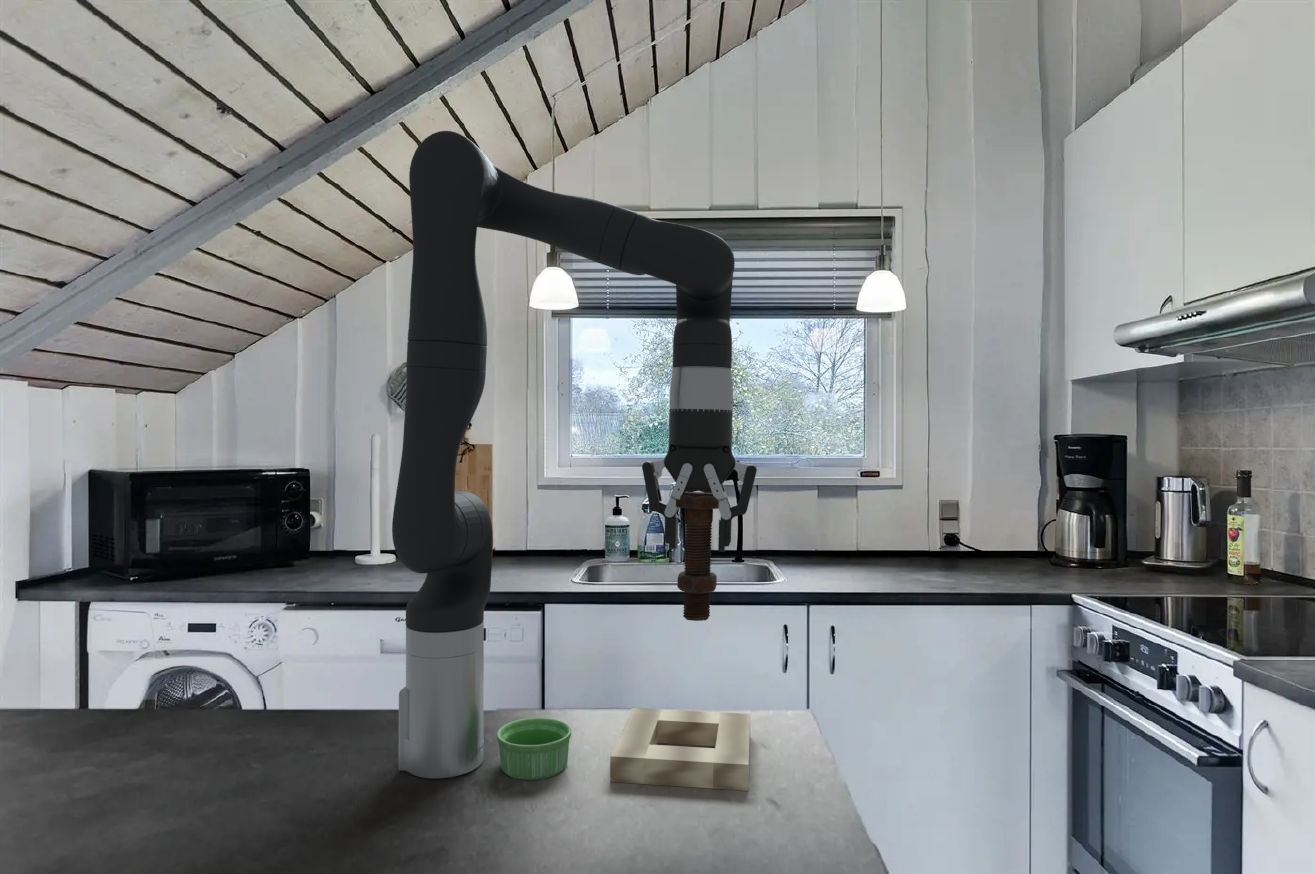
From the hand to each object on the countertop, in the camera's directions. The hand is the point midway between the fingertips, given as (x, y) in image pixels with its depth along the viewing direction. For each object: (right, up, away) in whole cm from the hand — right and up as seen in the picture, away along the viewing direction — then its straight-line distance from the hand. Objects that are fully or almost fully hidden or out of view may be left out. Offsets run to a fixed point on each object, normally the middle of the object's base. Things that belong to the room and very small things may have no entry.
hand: (697, 548), depth 94 cm
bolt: (0, -9, 0) cm, 9 cm away
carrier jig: (-1, -27, +5) cm, 27 cm away
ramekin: (-20, -27, +2) cm, 34 cm away
